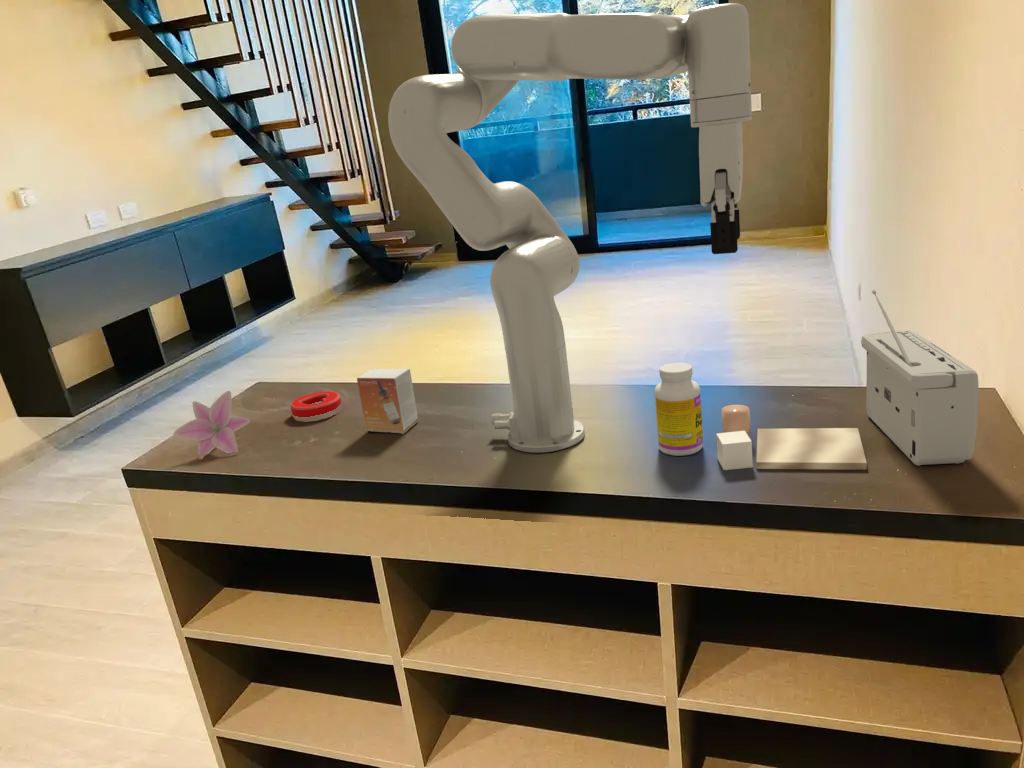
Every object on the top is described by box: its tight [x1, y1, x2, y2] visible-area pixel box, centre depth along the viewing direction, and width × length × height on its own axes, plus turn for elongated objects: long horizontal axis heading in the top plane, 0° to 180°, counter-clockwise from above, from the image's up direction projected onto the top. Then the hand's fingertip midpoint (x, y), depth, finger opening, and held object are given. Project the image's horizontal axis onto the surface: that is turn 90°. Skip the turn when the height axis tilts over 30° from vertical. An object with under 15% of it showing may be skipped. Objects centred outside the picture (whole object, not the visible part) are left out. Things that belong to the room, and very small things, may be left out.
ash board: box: [755, 427, 868, 471], centre depth 115 cm, size 14×12×1 cm
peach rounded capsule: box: [721, 404, 752, 441], centre depth 121 cm, size 4×4×5 cm
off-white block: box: [715, 431, 754, 471], centre depth 114 cm, size 4×4×4 cm
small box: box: [356, 368, 419, 431], centre depth 144 cm, size 8×6×10 cm
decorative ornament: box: [290, 390, 342, 417], centre depth 159 cm, size 10×10×3 cm
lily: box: [173, 390, 251, 456], centre depth 146 cm, size 12×12×10 cm
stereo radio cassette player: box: [860, 289, 979, 467], centre depth 112 cm, size 21×8×20 cm, turn 176°
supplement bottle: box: [653, 362, 704, 457], centre depth 120 cm, size 7×7×13 cm
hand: (726, 246), depth 108 cm, fingers open, 9 cm apart
